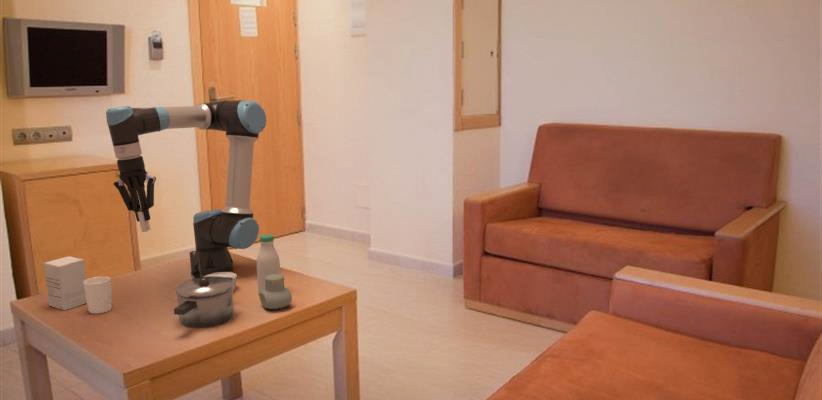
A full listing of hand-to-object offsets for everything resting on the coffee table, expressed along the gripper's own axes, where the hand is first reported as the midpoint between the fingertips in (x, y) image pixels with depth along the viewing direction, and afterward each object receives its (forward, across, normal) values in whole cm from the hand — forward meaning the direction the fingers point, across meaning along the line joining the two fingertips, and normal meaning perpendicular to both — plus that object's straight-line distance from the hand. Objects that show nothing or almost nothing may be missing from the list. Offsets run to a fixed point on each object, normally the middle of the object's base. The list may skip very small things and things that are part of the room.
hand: (146, 230), depth 206 cm
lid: (+18, +17, -7) cm, 26 cm away
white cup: (+24, -19, -4) cm, 31 cm away
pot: (+27, +18, -10) cm, 34 cm away
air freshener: (+30, +37, 0) cm, 47 cm away
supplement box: (+23, -32, +1) cm, 40 cm away
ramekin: (+28, +13, +15) cm, 35 cm away
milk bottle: (+30, +31, +14) cm, 45 cm away
